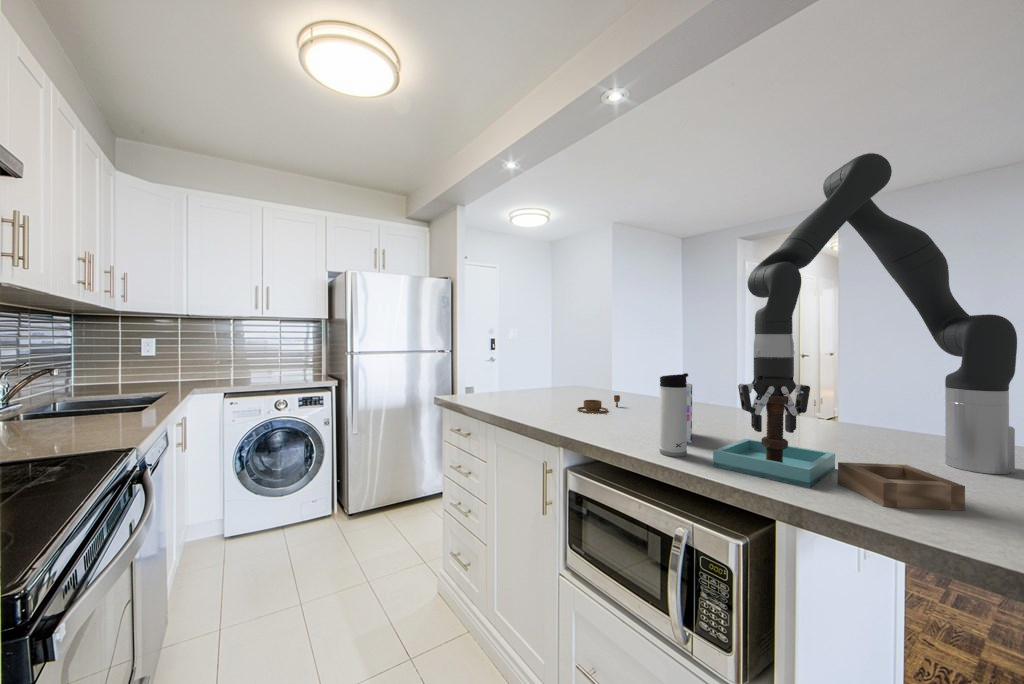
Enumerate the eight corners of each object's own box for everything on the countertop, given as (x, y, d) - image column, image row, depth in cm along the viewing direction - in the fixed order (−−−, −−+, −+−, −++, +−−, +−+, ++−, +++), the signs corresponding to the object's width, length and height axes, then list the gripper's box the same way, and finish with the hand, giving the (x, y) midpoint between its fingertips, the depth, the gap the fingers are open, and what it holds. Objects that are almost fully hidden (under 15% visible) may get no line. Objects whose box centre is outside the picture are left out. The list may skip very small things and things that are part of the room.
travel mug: (685, 458, 98) (685, 374, 98) (657, 454, 102) (657, 373, 102) (690, 452, 104) (690, 372, 104) (662, 449, 107) (662, 371, 107)
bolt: (780, 468, 87) (782, 397, 88) (755, 462, 92) (756, 394, 92) (792, 464, 91) (794, 395, 91) (768, 458, 95) (769, 393, 95)
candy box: (693, 444, 113) (693, 383, 113) (670, 443, 114) (670, 383, 114) (681, 433, 126) (681, 379, 126) (661, 432, 127) (660, 378, 127)
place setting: (572, 409, 173) (572, 395, 173) (618, 408, 175) (618, 394, 175) (584, 417, 155) (584, 401, 155) (635, 416, 157) (635, 400, 157)
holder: (906, 485, 80) (906, 464, 80) (965, 510, 68) (965, 486, 68) (837, 482, 82) (838, 462, 82) (883, 506, 70) (883, 482, 70)
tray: (746, 452, 104) (746, 438, 104) (835, 469, 90) (835, 453, 90) (713, 466, 92) (713, 450, 92) (809, 488, 79) (809, 469, 79)
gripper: (799, 354, 94) (799, 429, 94) (731, 354, 96) (732, 427, 96) (819, 355, 87) (819, 436, 86) (745, 355, 89) (745, 434, 89)
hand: (773, 431), depth 91 cm, fingers open, 6 cm apart
